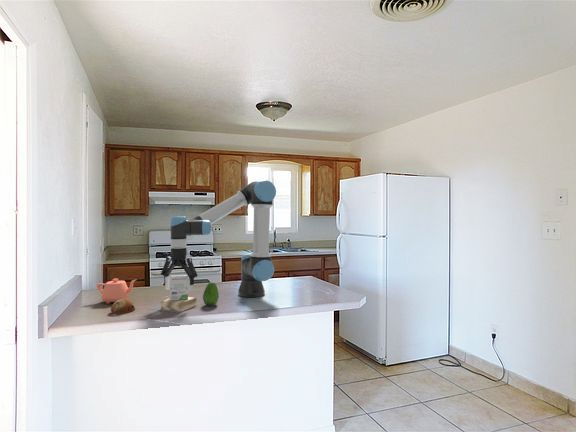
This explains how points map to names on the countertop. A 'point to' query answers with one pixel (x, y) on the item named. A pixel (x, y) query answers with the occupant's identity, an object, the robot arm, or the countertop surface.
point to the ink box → (178, 287)
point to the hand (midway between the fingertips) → (178, 290)
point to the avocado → (211, 294)
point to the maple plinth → (178, 304)
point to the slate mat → (163, 309)
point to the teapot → (115, 290)
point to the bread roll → (122, 306)
